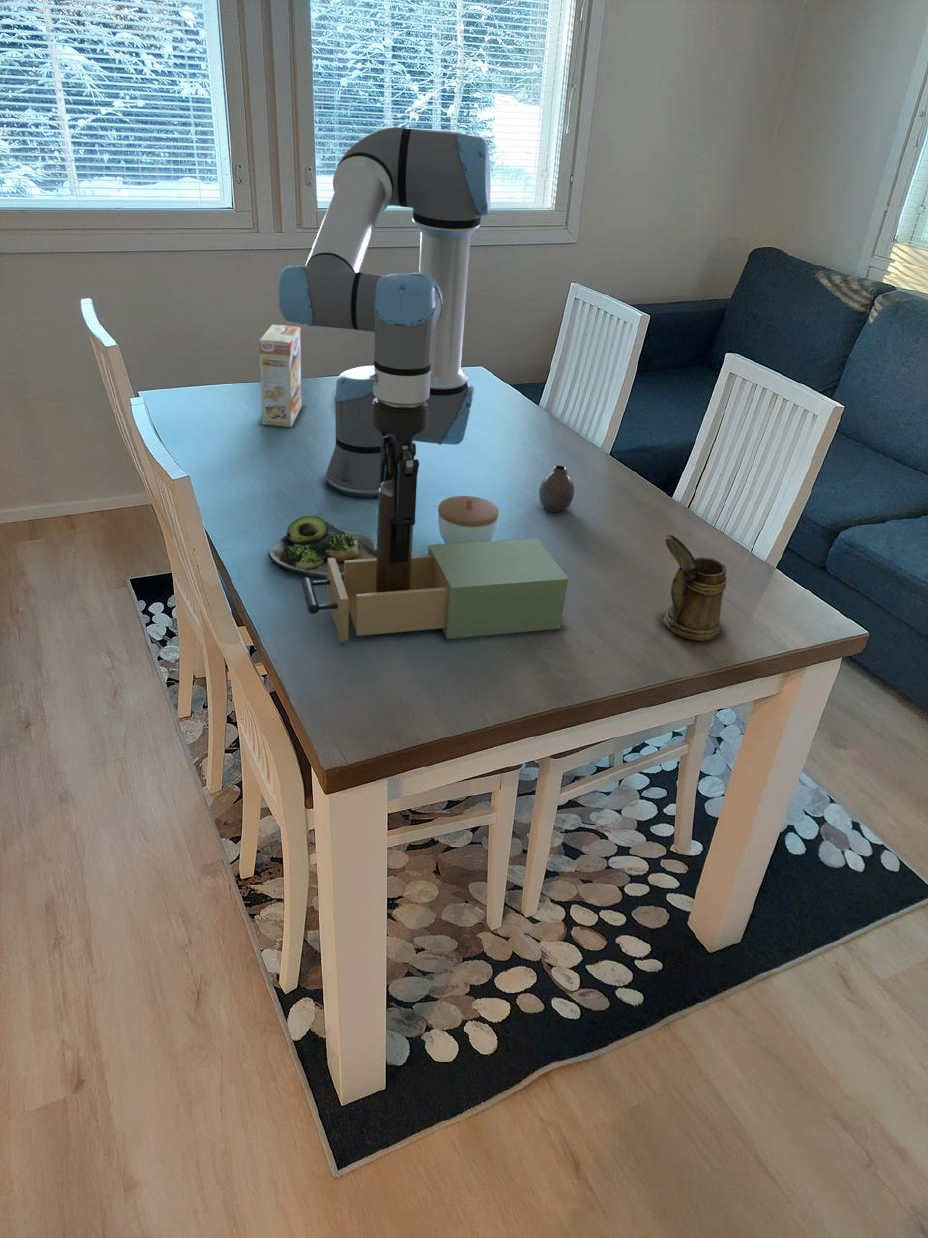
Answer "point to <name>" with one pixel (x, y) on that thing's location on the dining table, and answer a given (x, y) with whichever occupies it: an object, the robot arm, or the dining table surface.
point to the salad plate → (319, 547)
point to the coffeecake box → (280, 375)
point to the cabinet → (500, 587)
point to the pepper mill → (396, 572)
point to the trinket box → (467, 519)
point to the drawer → (381, 598)
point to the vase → (556, 490)
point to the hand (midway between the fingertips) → (394, 550)
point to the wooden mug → (695, 594)
